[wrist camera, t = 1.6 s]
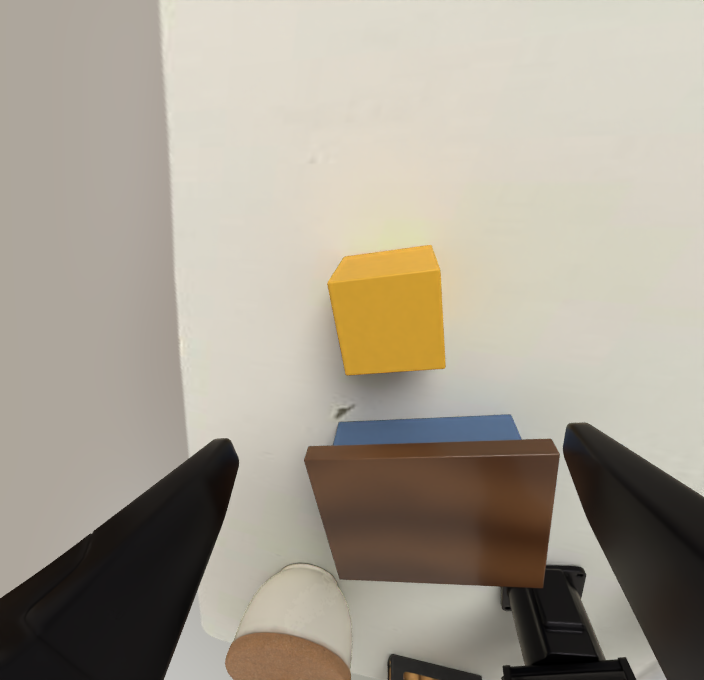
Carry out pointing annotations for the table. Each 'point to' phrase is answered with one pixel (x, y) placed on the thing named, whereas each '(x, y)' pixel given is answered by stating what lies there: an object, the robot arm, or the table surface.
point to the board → (438, 510)
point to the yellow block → (389, 311)
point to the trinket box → (294, 630)
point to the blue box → (427, 430)
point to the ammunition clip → (423, 671)
